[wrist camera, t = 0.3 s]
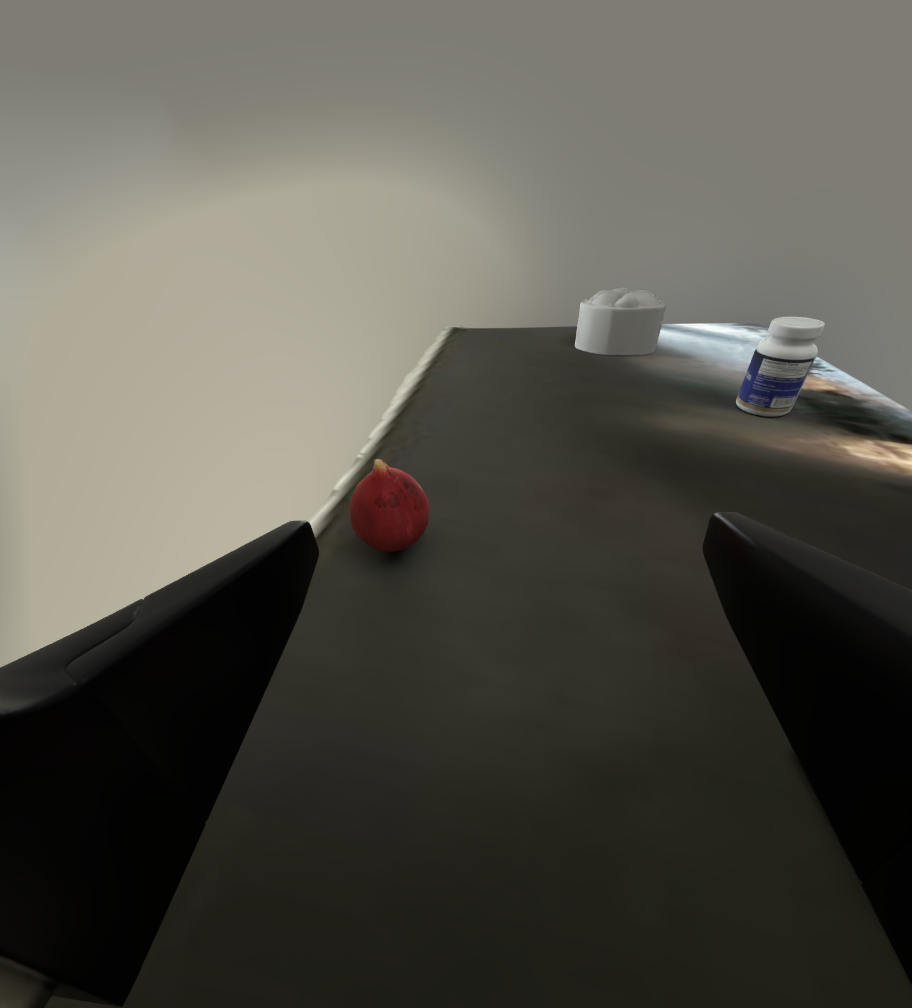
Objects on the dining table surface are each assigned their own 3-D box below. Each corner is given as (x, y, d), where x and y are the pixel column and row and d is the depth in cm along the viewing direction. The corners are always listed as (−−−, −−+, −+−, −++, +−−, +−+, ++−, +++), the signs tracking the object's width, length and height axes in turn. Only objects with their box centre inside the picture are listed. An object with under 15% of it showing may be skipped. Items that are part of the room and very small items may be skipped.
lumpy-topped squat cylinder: (659, 355, 67) (673, 297, 62) (577, 355, 69) (585, 298, 64) (644, 337, 75) (656, 285, 70) (572, 338, 77) (578, 287, 72)
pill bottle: (740, 395, 53) (773, 312, 47) (793, 406, 50) (835, 319, 44) (728, 410, 50) (761, 323, 44) (784, 422, 47) (828, 331, 41)
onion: (444, 533, 34) (437, 448, 29) (410, 582, 30) (396, 492, 25) (384, 517, 36) (368, 435, 31) (344, 561, 32) (319, 474, 27)
